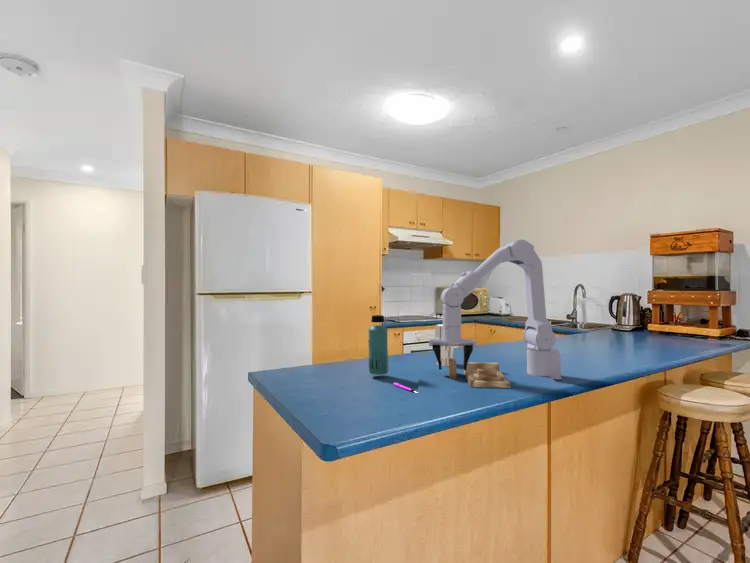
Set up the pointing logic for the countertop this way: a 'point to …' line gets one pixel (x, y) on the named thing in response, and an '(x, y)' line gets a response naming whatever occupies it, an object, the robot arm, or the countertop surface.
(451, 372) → the tall board
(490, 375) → the offcut top
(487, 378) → the offcut low
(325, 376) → the countertop surface
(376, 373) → the beverage bottle
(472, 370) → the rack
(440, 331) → the beer glass
